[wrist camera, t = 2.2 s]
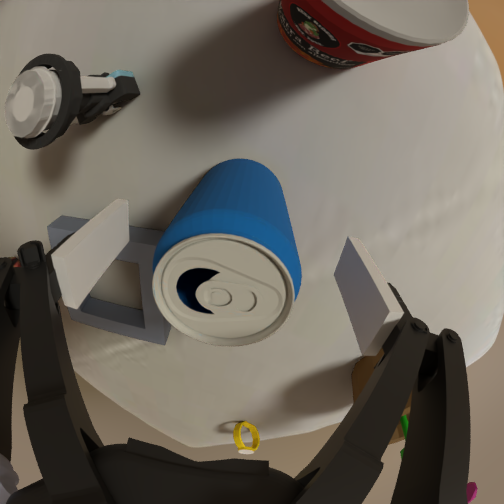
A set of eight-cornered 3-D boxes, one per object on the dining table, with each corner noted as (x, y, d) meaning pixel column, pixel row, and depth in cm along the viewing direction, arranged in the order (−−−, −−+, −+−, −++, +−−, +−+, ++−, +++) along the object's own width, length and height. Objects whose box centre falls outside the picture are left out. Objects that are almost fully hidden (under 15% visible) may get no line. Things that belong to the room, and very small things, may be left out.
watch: (231, 419, 41) (227, 447, 36) (244, 416, 40) (241, 445, 35) (251, 431, 43) (249, 457, 38) (263, 428, 42) (262, 455, 37)
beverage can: (204, 150, 19) (139, 210, 8) (291, 165, 19) (328, 242, 9) (195, 227, 22) (147, 337, 12) (273, 240, 23) (282, 360, 12)
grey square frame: (61, 215, 22) (47, 226, 19) (169, 232, 22) (160, 246, 20) (80, 306, 28) (71, 319, 25) (170, 328, 28) (165, 345, 26)
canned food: (253, 21, 14) (247, -57, 4) (327, -28, 11) (375, -100, 1) (329, 91, 16) (404, 80, 7) (397, 39, 13) (491, 14, 4)
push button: (88, 145, 18) (2, 182, 10) (69, 94, 16) (-19, 109, 7) (151, 107, 17) (70, 118, 8) (130, 52, 15) (46, 32, 6)
